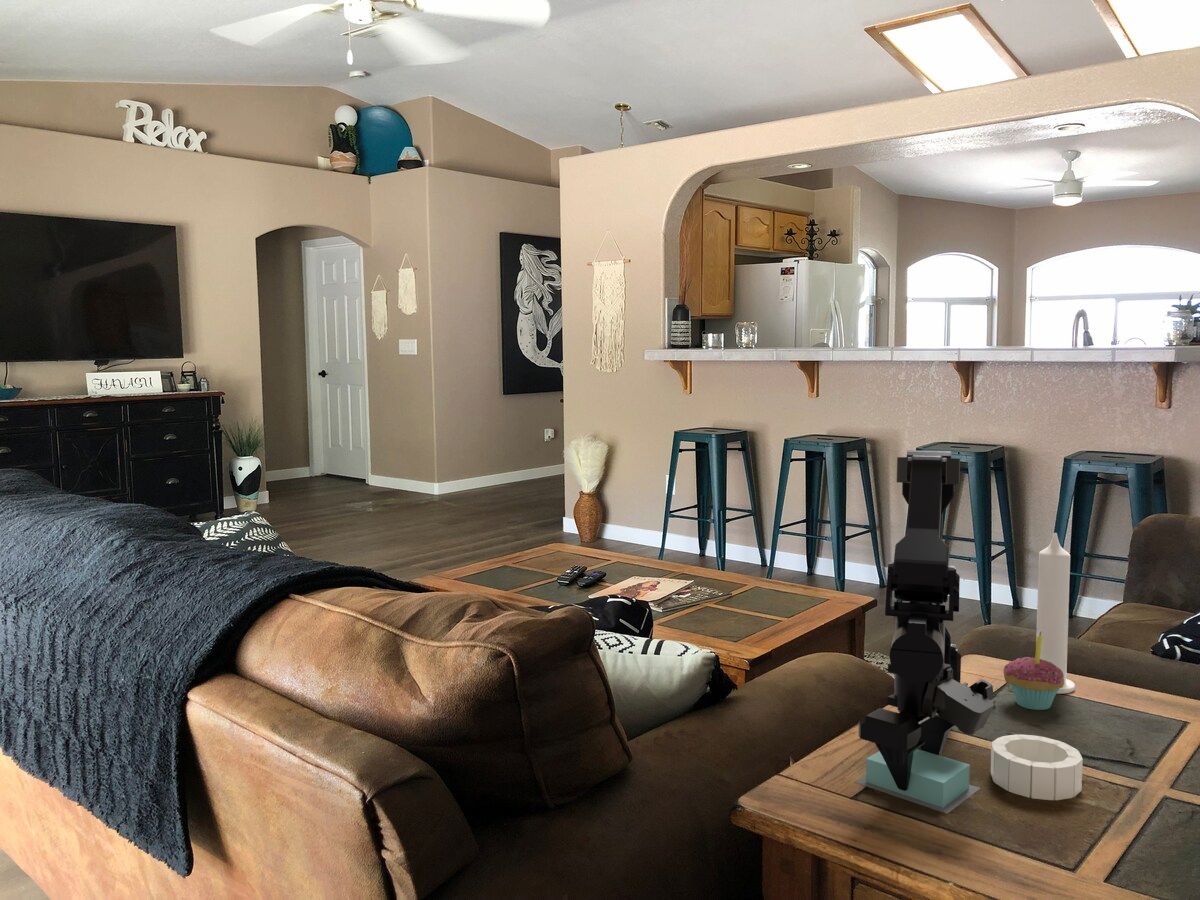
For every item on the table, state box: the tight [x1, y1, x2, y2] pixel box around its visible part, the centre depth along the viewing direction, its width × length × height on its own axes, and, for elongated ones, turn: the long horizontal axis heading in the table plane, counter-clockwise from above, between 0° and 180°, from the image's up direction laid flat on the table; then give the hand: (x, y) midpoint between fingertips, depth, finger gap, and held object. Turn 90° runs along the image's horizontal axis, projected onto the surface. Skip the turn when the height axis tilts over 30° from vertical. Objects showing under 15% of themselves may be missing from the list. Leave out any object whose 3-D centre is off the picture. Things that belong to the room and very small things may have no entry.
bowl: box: [990, 733, 1084, 801], centre depth 118 cm, size 10×10×4 cm
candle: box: [1035, 532, 1076, 694], centre depth 152 cm, size 7×7×25 cm
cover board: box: [865, 748, 971, 808], centre depth 118 cm, size 10×7×3 cm
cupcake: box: [1003, 631, 1064, 711], centre depth 145 cm, size 9×8×12 cm
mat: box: [854, 774, 982, 815], centre depth 118 cm, size 12×9×1 cm
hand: (917, 780), depth 118 cm, fingers closed on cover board, 7 cm apart
